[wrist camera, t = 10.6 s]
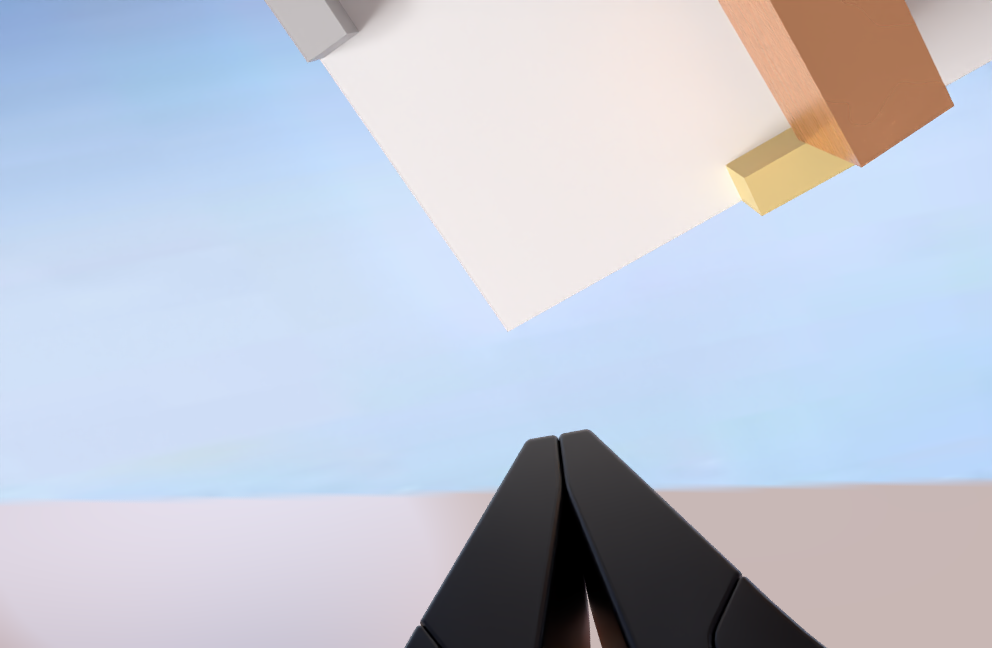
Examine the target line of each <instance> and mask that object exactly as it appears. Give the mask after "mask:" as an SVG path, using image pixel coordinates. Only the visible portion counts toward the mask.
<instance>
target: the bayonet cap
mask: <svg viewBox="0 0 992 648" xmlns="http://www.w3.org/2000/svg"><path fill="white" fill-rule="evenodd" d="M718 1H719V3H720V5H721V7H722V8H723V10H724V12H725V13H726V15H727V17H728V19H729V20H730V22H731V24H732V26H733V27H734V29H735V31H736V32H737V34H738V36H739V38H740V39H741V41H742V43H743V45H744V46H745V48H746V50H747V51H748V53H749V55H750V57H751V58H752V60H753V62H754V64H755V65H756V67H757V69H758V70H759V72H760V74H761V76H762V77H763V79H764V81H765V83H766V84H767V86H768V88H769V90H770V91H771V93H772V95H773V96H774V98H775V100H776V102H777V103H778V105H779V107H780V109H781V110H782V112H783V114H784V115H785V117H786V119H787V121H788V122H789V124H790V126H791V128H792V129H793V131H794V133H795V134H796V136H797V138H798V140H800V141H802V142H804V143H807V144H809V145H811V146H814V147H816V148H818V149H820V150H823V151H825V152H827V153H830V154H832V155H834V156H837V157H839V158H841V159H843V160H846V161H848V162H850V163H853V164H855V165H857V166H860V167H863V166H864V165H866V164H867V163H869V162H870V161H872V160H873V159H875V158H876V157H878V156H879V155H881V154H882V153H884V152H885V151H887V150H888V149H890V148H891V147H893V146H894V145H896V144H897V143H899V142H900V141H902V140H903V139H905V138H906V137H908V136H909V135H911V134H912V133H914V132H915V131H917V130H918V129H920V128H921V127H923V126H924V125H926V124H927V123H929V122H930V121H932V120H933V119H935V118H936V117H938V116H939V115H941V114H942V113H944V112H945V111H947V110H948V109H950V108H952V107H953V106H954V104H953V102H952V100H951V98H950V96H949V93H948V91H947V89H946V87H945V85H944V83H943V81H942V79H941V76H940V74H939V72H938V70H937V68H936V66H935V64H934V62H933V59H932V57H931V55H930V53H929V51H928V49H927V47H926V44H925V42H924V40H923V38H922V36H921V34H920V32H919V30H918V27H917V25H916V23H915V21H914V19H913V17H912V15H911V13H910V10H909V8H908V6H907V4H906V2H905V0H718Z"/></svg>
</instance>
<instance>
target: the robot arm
mask: <svg viewBox="0 0 992 648" xmlns="http://www.w3.org/2000/svg"><path fill="white" fill-rule="evenodd" d="M586 589H587V593H586ZM587 594H588V599H589V603H590V607H591V611H592V615H593V619H594V622H595V626H596V629H597V632H598V636H599V639H600V642H601V646H602V648H826V647H825V646H823V645H822V644H821V643H820V642H818V641H817V640H816V639H815V638H813V637H812V636H811V635H810V634H808V633H807V632H806V631H805V630H804V629H803V628H801V627H800V626H799V625H798V624H797V623H796V622H795V621H794V620H792V619H791V618H790V617H789V616H788V615H787V614H786V613H785V612H783V611H782V610H781V609H780V608H779V607H778V606H777V605H775V604H774V603H773V602H772V601H771V600H770V599H769V598H768V597H767V596H766V595H765V594H764V593H762V592H761V591H760V590H759V589H758V588H757V587H756V586H755V585H754V584H753V583H752V582H751V581H750V580H749V579H748V578H746V577H742V574H741V572H740V571H739V570H738V569H737V568H736V567H735V566H734V565H732V563H730V562H729V561H728V560H727V559H726V558H725V557H724V556H723V555H722V554H721V553H720V552H719V551H718V550H717V549H716V548H714V546H712V545H711V544H710V543H709V542H708V541H707V540H706V539H705V538H704V537H703V536H702V535H701V534H700V533H699V532H698V531H697V530H695V529H694V528H693V527H692V526H691V525H690V524H689V523H688V522H687V521H686V520H685V519H684V518H683V517H682V516H681V515H680V514H679V513H677V512H676V511H675V510H674V509H673V508H672V507H671V506H670V505H669V504H668V503H667V502H666V501H665V500H664V499H663V498H661V497H660V496H659V495H658V494H657V493H656V492H655V491H654V490H653V489H652V488H651V487H650V486H649V485H648V484H647V483H646V482H645V481H644V480H643V479H641V478H640V477H639V476H638V475H637V474H636V473H635V472H634V471H633V470H632V469H631V468H630V467H629V466H628V465H627V464H626V463H625V462H623V461H622V460H621V459H620V458H619V457H618V456H617V455H616V454H615V453H614V452H613V451H612V450H611V449H610V448H609V447H608V446H606V445H605V444H604V443H603V442H602V441H601V440H600V439H599V438H598V437H597V436H596V435H595V434H594V433H593V432H592V431H590V430H587V429H585V430H580V431H574V432H569V433H563V434H561V435H560V437H559V439H558V438H557V437H556V436H554V435H552V436H546V437H540V438H534V439H529V440H528V441H526V443H525V444H524V446H523V447H522V449H521V451H520V453H519V454H518V456H517V458H516V459H515V461H514V463H513V464H512V466H511V468H510V470H509V471H508V473H507V475H506V476H505V478H504V480H503V481H502V483H501V485H500V487H499V488H498V490H497V492H496V493H495V495H494V497H493V498H492V501H491V502H490V504H489V505H488V507H487V509H486V510H485V512H484V514H483V515H482V517H481V519H480V521H479V522H478V524H477V526H476V528H475V529H474V531H473V533H472V534H471V536H470V538H469V539H468V541H467V543H466V544H465V546H464V548H463V550H462V551H461V553H460V555H459V556H458V558H457V560H456V562H455V563H454V565H453V567H452V568H451V570H450V572H449V574H448V575H447V577H446V579H445V580H444V582H443V584H442V585H441V587H440V589H439V590H438V592H437V594H436V595H435V597H434V599H433V601H432V602H431V604H430V606H429V607H428V609H427V611H426V612H425V614H424V616H423V618H422V620H421V622H420V624H421V626H417V627H416V629H415V631H414V632H413V634H412V636H411V637H410V639H409V641H408V643H407V644H406V646H405V648H590V625H589V611H588V600H587Z"/></svg>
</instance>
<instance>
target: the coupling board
mask: <svg viewBox="0 0 992 648" xmlns="http://www.w3.org/2000/svg"><path fill="white" fill-rule="evenodd" d="M265 2H266V3H267V5H268V6H269V8H270V9H271V10H272V12H273V13H274V15H275V16H276V18H277V19H278V20H279V22H280V23H281V25H282V26H283V28H284V29H285V30H286V32H287V33H288V35H289V36H290V38H291V39H292V40H293V42H294V43H295V45H296V46H297V48H298V49H299V51H300V52H301V53H302V55H303V56H304V58H305V59H306V61H307V62H311V61H315V60H319V59H320V60H321V62H322V63H323V65H324V66H325V68H326V69H327V71H328V72H329V73H330V75H331V76H332V78H333V79H334V81H335V82H336V84H337V85H338V86H339V88H340V89H341V91H342V92H343V94H344V95H345V97H346V98H347V99H348V101H349V102H350V104H351V105H352V107H353V108H354V110H355V111H356V113H357V114H358V115H359V117H360V118H361V120H362V121H363V123H364V124H365V126H366V127H367V128H368V130H369V131H370V133H371V134H372V136H373V137H374V139H375V140H376V142H377V143H378V144H379V146H380V147H381V149H382V150H383V152H384V153H385V155H386V156H387V157H388V159H389V160H390V162H391V163H392V165H393V166H394V168H395V169H396V170H397V172H398V173H399V175H400V176H401V178H402V179H403V181H404V182H405V184H406V185H407V186H408V188H409V189H410V191H411V192H412V194H413V195H414V197H415V198H416V199H417V201H418V202H419V204H420V205H421V207H422V208H423V210H424V211H425V213H426V214H427V215H428V217H429V218H430V220H431V221H432V223H433V224H434V226H435V227H436V228H437V230H438V231H439V233H440V234H441V236H442V237H443V239H444V240H445V241H446V243H447V244H448V246H449V247H450V249H451V250H452V252H453V253H454V255H455V256H456V257H457V259H458V260H459V262H460V263H461V265H462V266H463V268H464V269H465V270H466V272H467V273H468V275H469V276H470V278H471V279H472V281H473V282H474V284H475V285H476V286H477V288H478V289H479V291H480V292H481V294H482V295H483V297H484V298H485V299H486V301H487V302H488V304H489V305H490V307H491V308H492V310H493V311H494V312H495V314H496V315H497V317H498V318H499V320H500V321H501V323H502V324H503V326H504V327H505V328H506V330H507V331H510V330H512V329H514V328H515V327H517V326H519V325H521V324H523V323H524V322H526V321H528V320H530V319H531V318H533V317H535V316H537V315H539V314H540V313H542V312H544V311H546V310H548V309H549V308H551V307H553V306H555V305H556V304H558V303H560V302H562V301H564V300H565V299H567V298H569V297H571V296H573V295H574V294H576V293H578V292H580V291H581V290H583V289H585V288H587V287H589V286H590V285H592V284H594V283H596V282H597V281H599V280H601V279H603V278H605V277H606V276H608V275H610V274H612V273H614V272H615V271H617V270H619V269H621V268H622V267H624V266H626V265H628V264H630V263H631V262H633V261H635V260H637V259H639V258H640V257H642V256H644V255H646V254H647V253H649V252H651V251H653V250H655V249H656V248H658V247H660V246H662V245H663V244H665V243H667V242H669V241H671V240H672V239H674V238H676V237H678V236H680V235H681V234H683V233H685V232H687V231H688V230H690V229H692V228H694V227H696V226H697V225H699V224H701V223H703V222H704V221H706V220H708V219H710V218H712V217H713V216H715V215H717V214H719V213H721V212H722V211H724V210H726V209H728V208H729V207H731V206H733V205H735V204H737V203H738V202H740V201H743V202H745V203H746V204H747V205H749V206H750V207H751V208H752V209H754V210H755V211H756V212H758V213H759V214H760V215H761V216H763V215H765V214H766V213H768V212H770V211H772V210H774V209H775V208H777V207H779V206H781V205H783V204H785V203H786V202H788V201H790V200H792V199H794V198H795V197H797V196H799V195H801V194H803V193H804V192H806V191H808V190H810V189H812V188H814V187H815V186H817V185H819V184H821V183H823V182H824V181H826V180H828V179H830V178H832V177H834V176H835V175H837V174H839V173H841V172H843V171H844V170H846V169H848V168H850V167H852V166H854V165H855V164H853V163H850V162H848V161H846V160H843V159H841V158H839V157H837V156H834V155H832V154H830V153H827V152H825V151H823V150H820V149H818V148H816V147H814V146H811V145H809V144H807V143H804V142H802V141H800V140H798V138H797V136H796V134H795V133H794V131H793V129H792V128H791V126H790V124H789V122H788V121H787V119H786V117H785V115H784V114H783V112H782V110H781V109H780V107H779V105H778V103H777V102H776V100H775V98H774V96H773V95H772V93H771V91H770V90H769V88H768V86H767V84H766V83H765V81H764V79H763V77H762V76H761V74H760V72H759V70H758V69H757V67H756V65H755V64H754V62H753V60H752V58H751V57H750V55H749V53H748V51H747V50H746V48H745V46H744V45H743V43H742V41H741V39H740V38H739V36H738V34H737V32H736V31H735V29H734V27H733V26H732V24H731V22H730V20H729V19H728V17H727V15H726V13H725V12H724V10H723V8H722V7H721V5H720V3H719V1H718V0H265ZM905 2H906V4H907V6H908V8H909V10H910V13H911V15H912V17H913V19H914V21H915V23H916V25H917V27H918V30H919V32H920V34H921V36H922V38H923V40H924V42H925V44H926V47H927V49H928V51H929V53H930V55H931V57H932V59H933V62H934V64H935V66H936V68H937V70H938V72H939V74H940V76H941V79H942V81H943V83H944V85H945V86H947V85H949V84H951V83H952V82H954V81H956V80H958V79H960V78H961V77H963V76H965V75H967V74H968V73H970V72H972V71H974V70H976V69H977V68H979V67H981V66H983V65H985V64H986V63H988V62H990V61H992V0H905Z"/></svg>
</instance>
